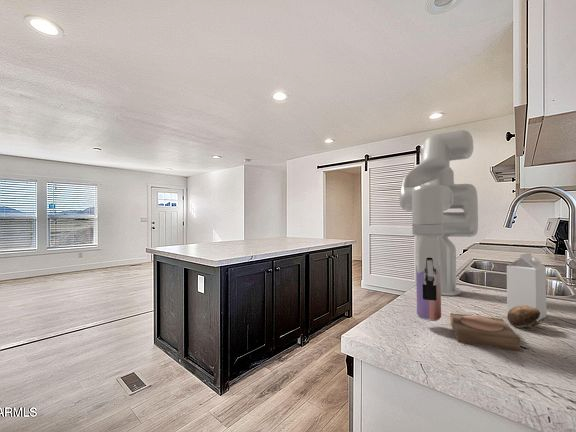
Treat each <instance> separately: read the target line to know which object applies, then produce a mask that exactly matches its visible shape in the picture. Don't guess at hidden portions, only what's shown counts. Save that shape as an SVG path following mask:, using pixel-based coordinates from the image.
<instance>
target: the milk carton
mask: <svg viewBox="0 0 576 432" xmlns="http://www.w3.org/2000/svg"><path fill="white" fill-rule="evenodd" d="M519 254H520V255H519V256H520V257H519V258H517V259H515V260H514V261H512V262H510V263H509V264H507V265H506V306H507V307H506V311H507V312H506V314H507V315H508V312H509V310H510V309H512V308H513V307H516V306H529V307H534V308H536V309H538V310H539V312H540V316H539V318H538V319H537V321H538V322H539V321H541V320H543V319H544V318H546V317H547V267H546V266H545V265H544V264H543V263H541V262H542V261H541V260H540V259H538V258H537V257H534V256H533V255H532V252H531V251H529V252H524V253H519Z"/></svg>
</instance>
